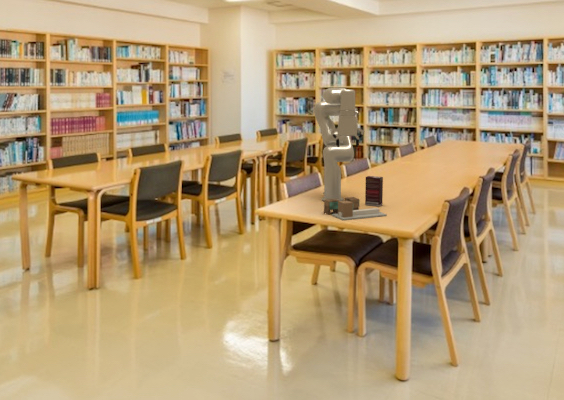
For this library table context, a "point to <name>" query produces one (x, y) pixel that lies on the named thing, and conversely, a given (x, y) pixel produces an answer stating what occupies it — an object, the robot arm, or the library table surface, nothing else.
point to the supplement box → (374, 191)
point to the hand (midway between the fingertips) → (347, 147)
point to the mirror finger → (354, 201)
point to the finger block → (330, 206)
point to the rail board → (355, 212)
